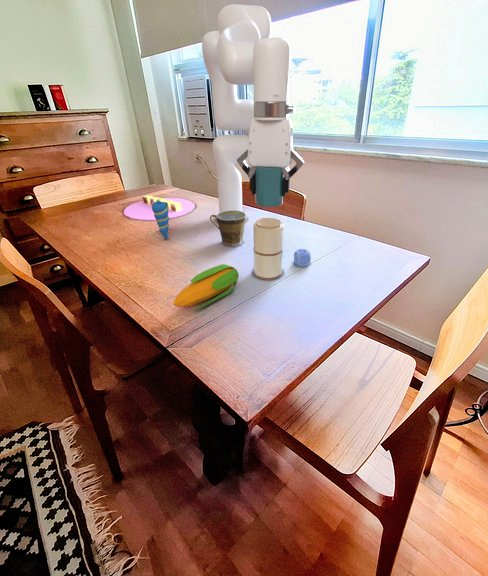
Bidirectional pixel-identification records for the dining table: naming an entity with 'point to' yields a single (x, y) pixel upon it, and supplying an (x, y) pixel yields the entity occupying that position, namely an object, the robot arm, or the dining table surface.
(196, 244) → the dining table surface
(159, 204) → the ornament
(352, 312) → the dining table surface
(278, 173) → the teal cup
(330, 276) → the dining table surface
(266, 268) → the cup stack
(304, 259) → the decorative dice
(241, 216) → the ceramic cup
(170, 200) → the platter
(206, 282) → the corn
